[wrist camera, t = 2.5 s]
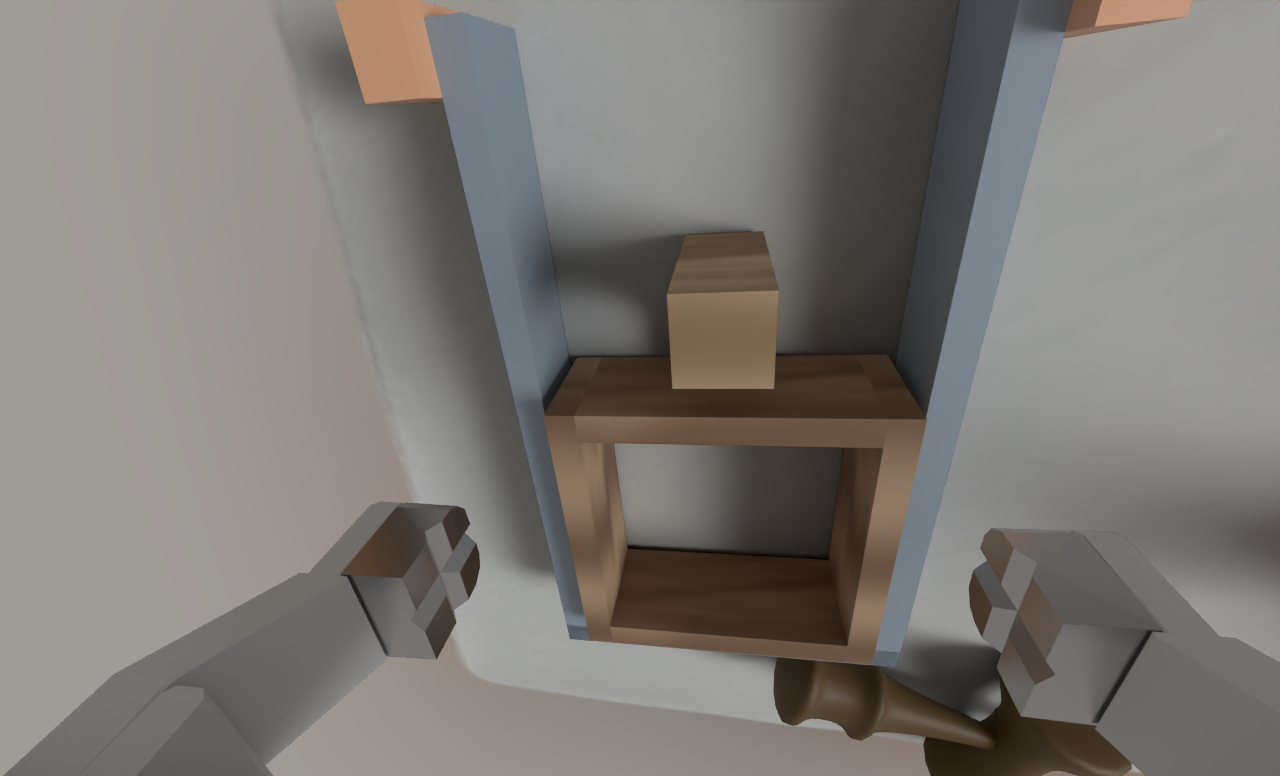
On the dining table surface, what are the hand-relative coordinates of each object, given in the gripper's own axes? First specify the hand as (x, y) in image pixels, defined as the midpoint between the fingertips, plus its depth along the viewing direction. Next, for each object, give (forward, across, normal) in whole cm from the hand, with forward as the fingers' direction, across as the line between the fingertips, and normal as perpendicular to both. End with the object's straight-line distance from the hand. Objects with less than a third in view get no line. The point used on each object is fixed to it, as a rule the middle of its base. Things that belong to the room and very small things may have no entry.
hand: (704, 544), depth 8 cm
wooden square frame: (+15, 0, +7) cm, 16 cm away
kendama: (+16, -13, +26) cm, 33 cm away
